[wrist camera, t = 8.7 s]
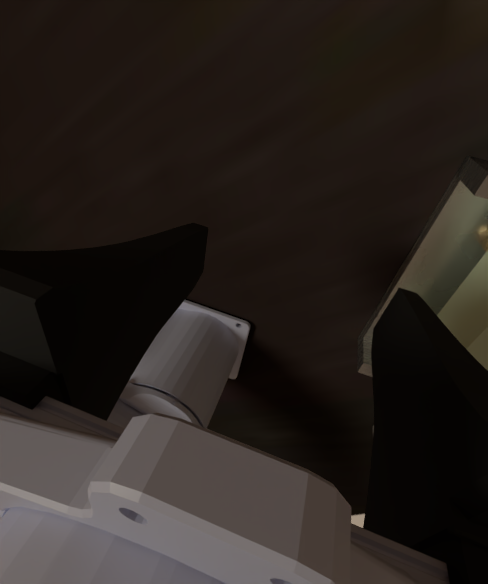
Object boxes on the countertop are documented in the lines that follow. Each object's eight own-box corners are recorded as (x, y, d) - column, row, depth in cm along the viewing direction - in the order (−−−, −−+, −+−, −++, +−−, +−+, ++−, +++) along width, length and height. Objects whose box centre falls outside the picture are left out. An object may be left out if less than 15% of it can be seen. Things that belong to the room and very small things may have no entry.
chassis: (475, 378, 23) (490, 418, 21) (357, 338, 25) (357, 371, 22) (660, 204, 15) (728, 234, 12) (467, 155, 16) (488, 173, 13)
